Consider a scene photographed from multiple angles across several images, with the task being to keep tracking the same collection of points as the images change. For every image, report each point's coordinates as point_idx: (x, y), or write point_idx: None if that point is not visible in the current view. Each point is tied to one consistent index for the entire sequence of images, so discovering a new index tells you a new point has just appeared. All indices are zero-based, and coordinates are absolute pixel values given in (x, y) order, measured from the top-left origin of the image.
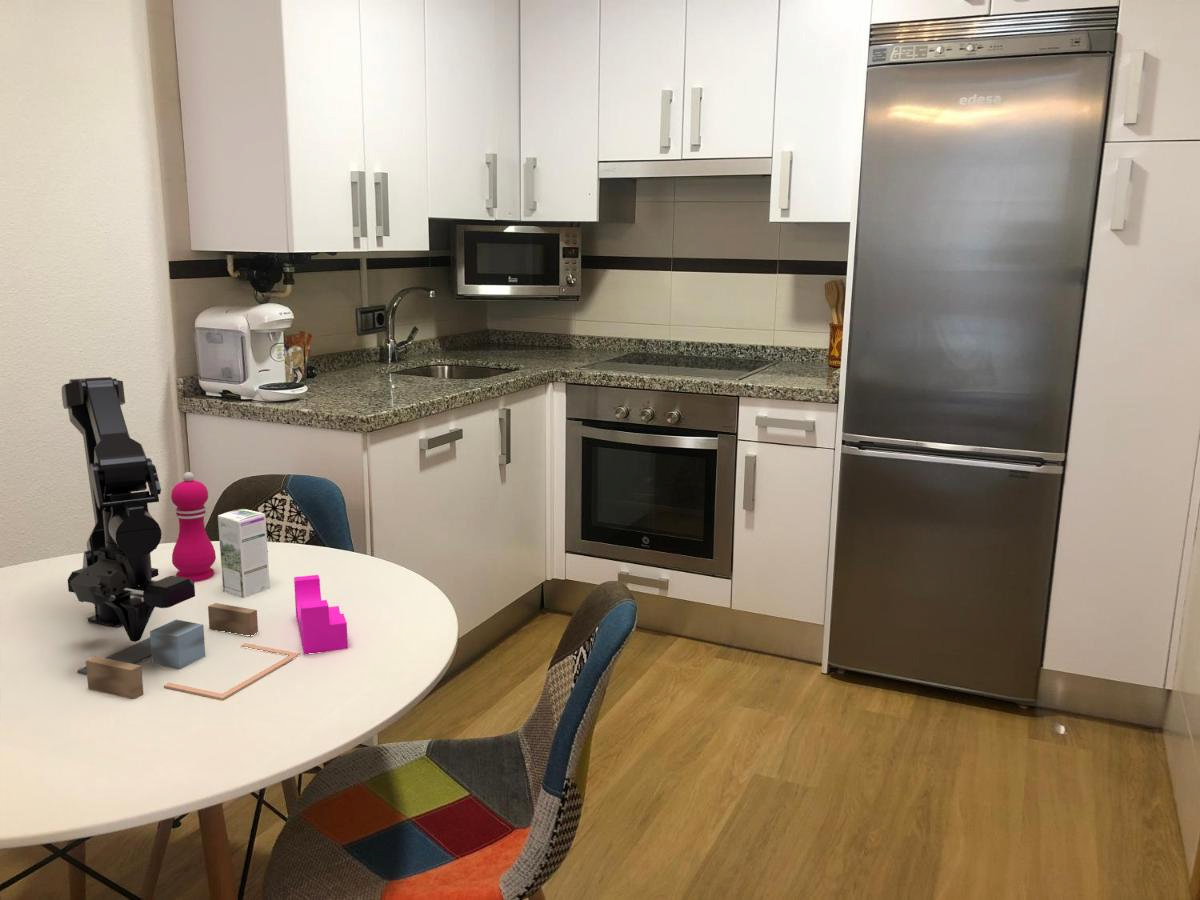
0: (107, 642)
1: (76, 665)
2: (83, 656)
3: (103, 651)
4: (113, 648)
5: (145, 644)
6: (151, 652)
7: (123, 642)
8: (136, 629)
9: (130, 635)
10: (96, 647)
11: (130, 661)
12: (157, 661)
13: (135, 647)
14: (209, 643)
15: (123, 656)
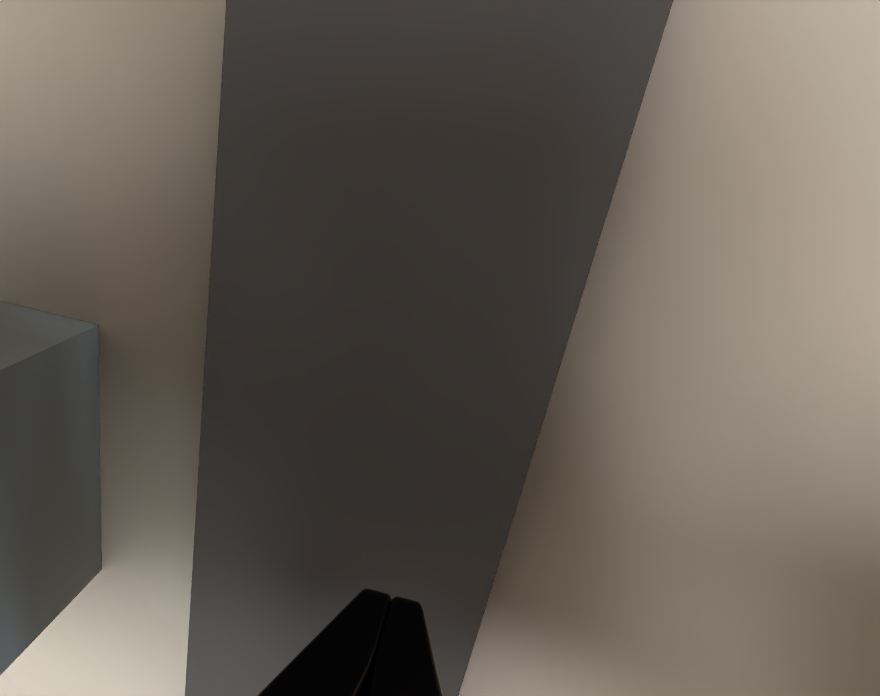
0: (777, 679)
1: (820, 157)
2: (858, 390)
3: (708, 515)
4: (649, 577)
5: None
6: (8, 366)
7: (632, 684)
8: None
9: (388, 643)
10: (828, 586)
11: (251, 289)
12: (12, 321)
13: (423, 575)
14: (12, 687)
15: (400, 390)
